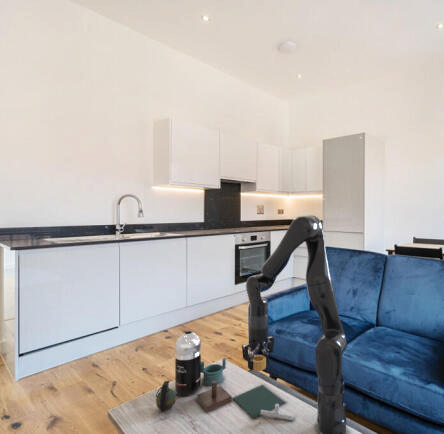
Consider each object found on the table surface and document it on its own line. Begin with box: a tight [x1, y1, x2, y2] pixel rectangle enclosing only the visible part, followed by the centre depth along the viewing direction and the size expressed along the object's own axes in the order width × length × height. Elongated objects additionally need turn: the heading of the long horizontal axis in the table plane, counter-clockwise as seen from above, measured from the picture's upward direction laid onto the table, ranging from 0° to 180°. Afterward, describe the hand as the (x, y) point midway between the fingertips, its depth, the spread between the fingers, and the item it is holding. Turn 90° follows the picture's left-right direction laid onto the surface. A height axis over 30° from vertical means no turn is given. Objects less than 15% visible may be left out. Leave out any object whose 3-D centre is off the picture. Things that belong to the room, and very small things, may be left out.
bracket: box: [201, 357, 227, 386], centre depth 136 cm, size 9×9×9 cm
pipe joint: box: [260, 404, 294, 421], centre depth 112 cm, size 12×2×4 cm, turn 78°
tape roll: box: [252, 354, 267, 372], centre depth 121 cm, size 6×6×4 cm
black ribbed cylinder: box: [174, 330, 202, 397], centre depth 128 cm, size 10×10×25 cm
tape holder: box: [196, 381, 233, 413], centre depth 121 cm, size 10×10×8 cm
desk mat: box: [232, 384, 286, 420], centre depth 121 cm, size 16×14×1 cm
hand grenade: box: [155, 380, 177, 413], centre depth 116 cm, size 8×7×10 cm
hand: (258, 366), depth 121 cm, fingers closed on tape roll, 6 cm apart
